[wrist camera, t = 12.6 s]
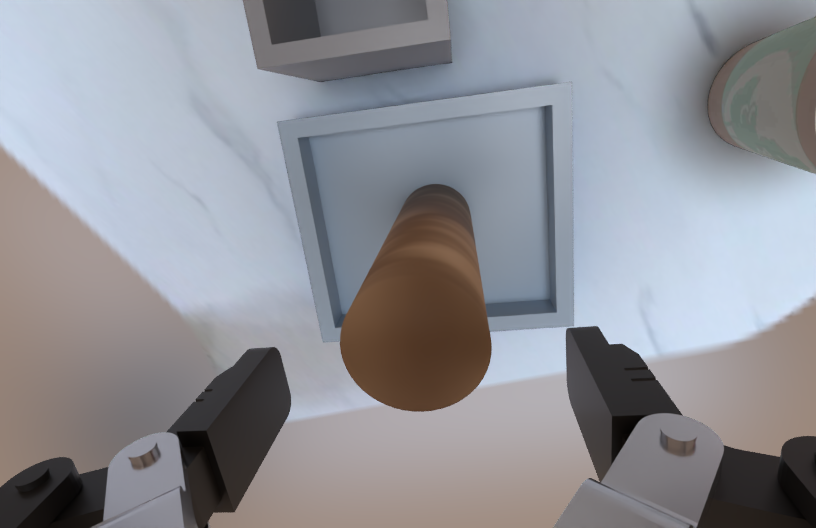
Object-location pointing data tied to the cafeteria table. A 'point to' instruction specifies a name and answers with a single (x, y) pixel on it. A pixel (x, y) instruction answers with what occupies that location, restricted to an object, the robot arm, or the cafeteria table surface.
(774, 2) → the cafeteria table surface
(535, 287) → the tray
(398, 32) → the grey square frame
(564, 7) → the cafeteria table surface
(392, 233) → the walnut peg
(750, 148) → the coffee cup
